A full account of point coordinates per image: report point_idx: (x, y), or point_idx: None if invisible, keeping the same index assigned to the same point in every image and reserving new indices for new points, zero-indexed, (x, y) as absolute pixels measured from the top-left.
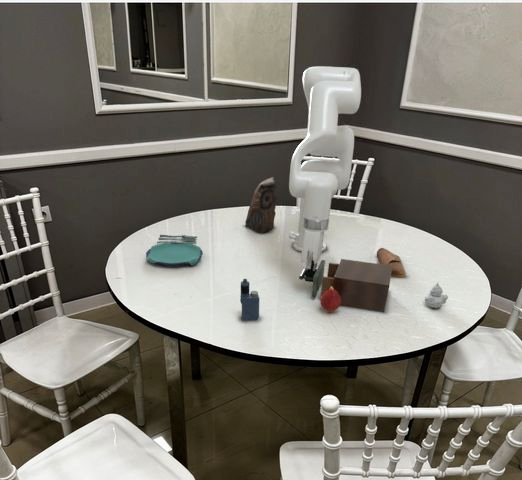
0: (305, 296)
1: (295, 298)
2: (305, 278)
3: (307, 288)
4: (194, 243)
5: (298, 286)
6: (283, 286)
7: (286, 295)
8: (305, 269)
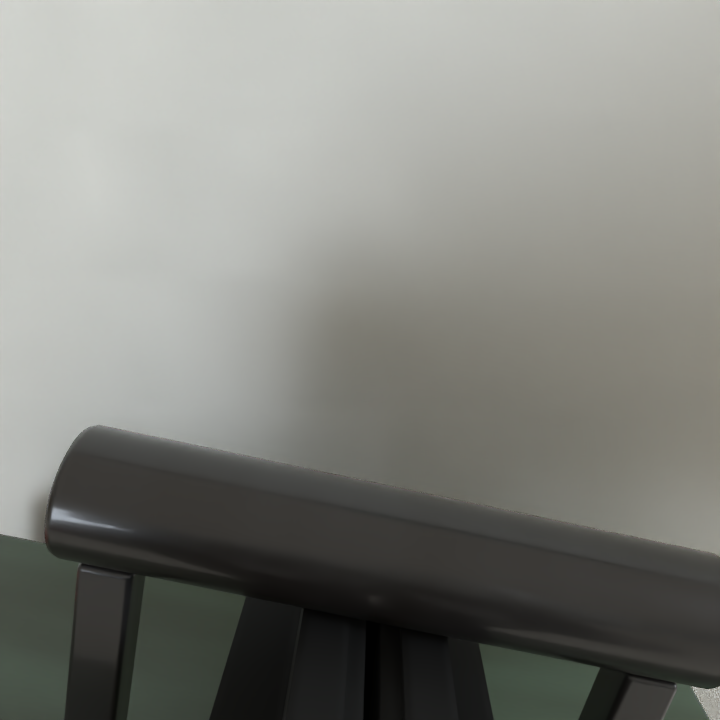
0: (122, 427)
1: (4, 268)
2: (87, 587)
3: (421, 463)
4: None
5: (487, 319)
6: (464, 20)
7: (75, 100)
8: (566, 644)
